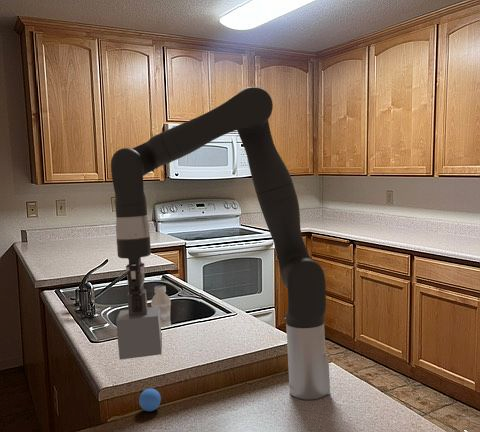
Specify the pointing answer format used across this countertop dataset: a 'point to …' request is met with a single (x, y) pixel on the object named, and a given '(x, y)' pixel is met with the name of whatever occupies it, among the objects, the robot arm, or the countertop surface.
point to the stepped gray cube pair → (139, 331)
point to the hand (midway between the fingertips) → (138, 309)
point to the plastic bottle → (162, 304)
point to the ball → (149, 399)
